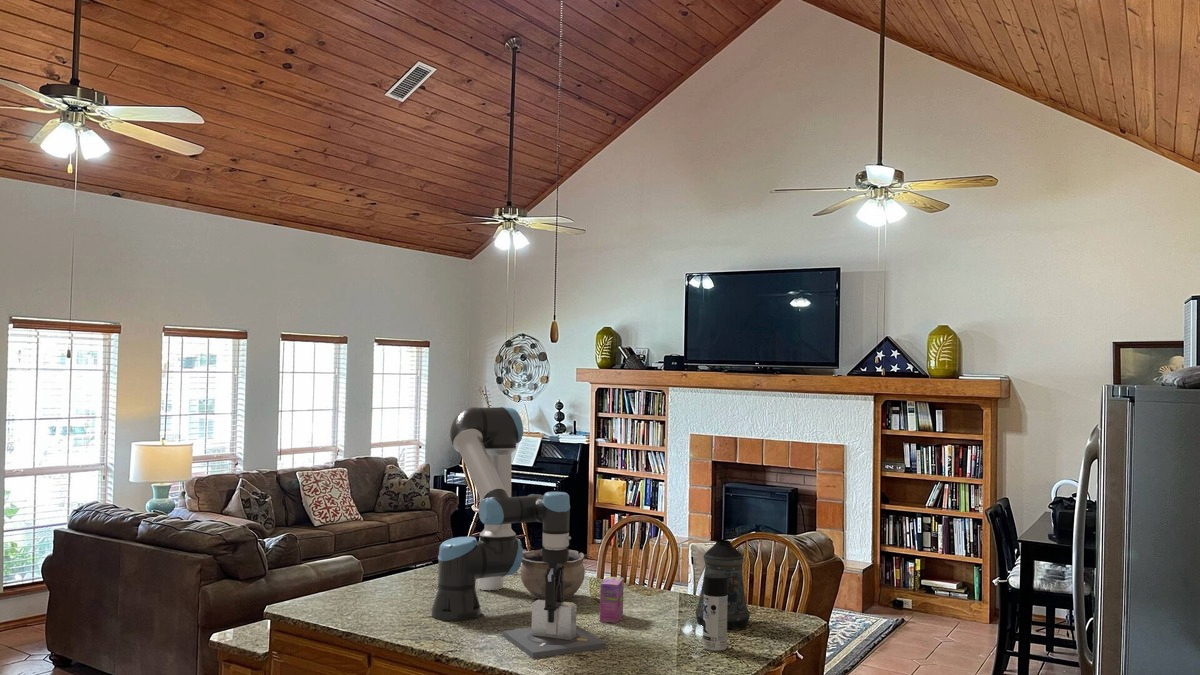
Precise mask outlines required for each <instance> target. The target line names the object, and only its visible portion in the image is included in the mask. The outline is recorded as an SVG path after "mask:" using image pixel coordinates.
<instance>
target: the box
mask: <svg viewBox="0 0 1200 675" xmlns="http://www.w3.org/2000/svg"><path fill="white" fill-rule="evenodd" d="M624 584H625V578H624V577H620V576H619V577H618V576H606V577H605V578H604V579H603V581H602V582H601V583H600V594H599V595H600V597H599V598H600V599H599V600H600V601H599V622H600V623H605V622H612V623H611V624H618V623H619V621H620V620H621V618H622V617H623V615H624V590H625V589H624V586H625V585H624Z"/></svg>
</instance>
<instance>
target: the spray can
mask: <svg viewBox="0 0 1200 675" xmlns="http://www.w3.org/2000/svg"><path fill="white" fill-rule="evenodd" d="M703 578H704V607H703V627H702V630H703V631H702V647H703V649H704V650H705V651H709V652H715V653H719V652H724V651H725V650H727V643H728V642H727V641H728V637H727V636H728V630H727V599H728V577H727V576H726V575H722V574H706V575H705V576H704V575H703Z"/></svg>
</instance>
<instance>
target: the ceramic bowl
mask: <svg viewBox="0 0 1200 675" xmlns="http://www.w3.org/2000/svg"><path fill="white" fill-rule="evenodd" d="M542 549H543V548H540V549H536V550H531V551H526V552H523V557H522V562H521V566H520V567H521V569H520V578H521V582H522V584H523V586H524V587H525V589H526V590H527V591H528V592H529V593H530V594H531V595H532V596H533V597H534V598H536V599H537V600H545V588H546V581H545V575H546V574H547V569H548V568H549V564H548V563H545V562H543V561H542ZM584 557H585V554H584V553H583V552H579V551H577V550H572V549H569V560H568V562H566V563H562V566H564V567H565V568H564V585H563V601H564V600H567V599H569V598H571V597H573V596H574V595H575V594H576V593H577V592H578V591H579V589H580V588H581V586H582V584H583V582H584V581H585V577H586V576H585V574H586V572H585V566H584V564H583V561H584V559H585V558H584Z"/></svg>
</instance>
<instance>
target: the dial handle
mask: <svg viewBox="0 0 1200 675" xmlns="http://www.w3.org/2000/svg"><path fill="white" fill-rule="evenodd" d="M544 608H545V600H543V599H537V600H535V601H533V602H532V603H531V628H532V632H531V635H535V636H542V637H550V638H557V639H565V640H572V639H573V638H575V637H576V625H577V614H578V613H577V609H578V608H577V603H575V602H569V601H563V603H562V602H556V610H557V632H556V634H546V631H547V610H544Z"/></svg>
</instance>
